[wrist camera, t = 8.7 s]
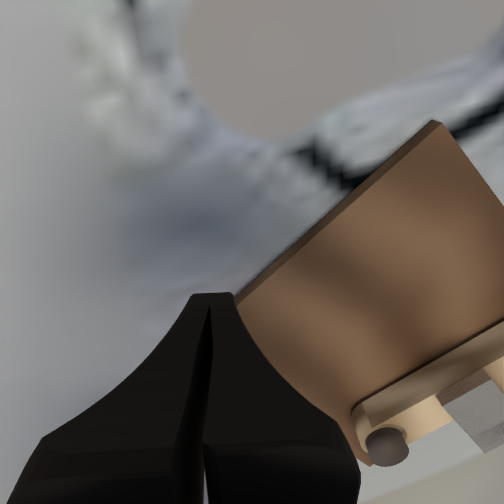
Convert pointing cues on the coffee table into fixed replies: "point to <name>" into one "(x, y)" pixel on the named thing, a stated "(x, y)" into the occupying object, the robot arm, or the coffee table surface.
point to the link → (423, 398)
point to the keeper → (477, 409)
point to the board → (384, 280)
